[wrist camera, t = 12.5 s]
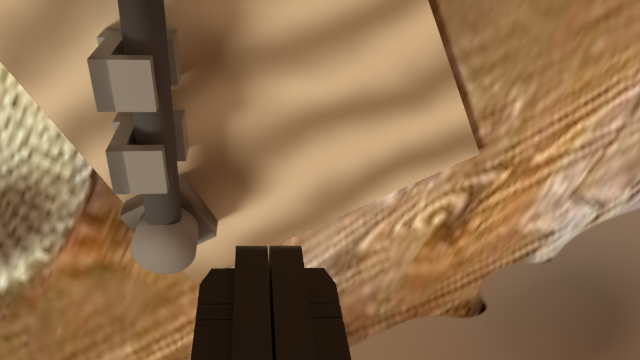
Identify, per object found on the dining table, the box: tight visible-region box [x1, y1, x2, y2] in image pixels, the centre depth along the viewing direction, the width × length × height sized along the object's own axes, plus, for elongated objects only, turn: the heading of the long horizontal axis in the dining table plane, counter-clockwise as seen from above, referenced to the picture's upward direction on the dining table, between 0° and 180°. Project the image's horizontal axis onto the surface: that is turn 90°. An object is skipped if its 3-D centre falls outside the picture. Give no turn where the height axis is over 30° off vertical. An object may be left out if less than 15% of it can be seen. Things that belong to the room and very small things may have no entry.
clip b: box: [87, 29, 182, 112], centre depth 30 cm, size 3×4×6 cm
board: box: [0, 0, 480, 282], centre depth 33 cm, size 30×26×2 cm
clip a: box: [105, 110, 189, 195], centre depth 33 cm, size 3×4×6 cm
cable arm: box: [117, 0, 199, 274], centre depth 31 cm, size 25×4×4 cm, turn 175°
